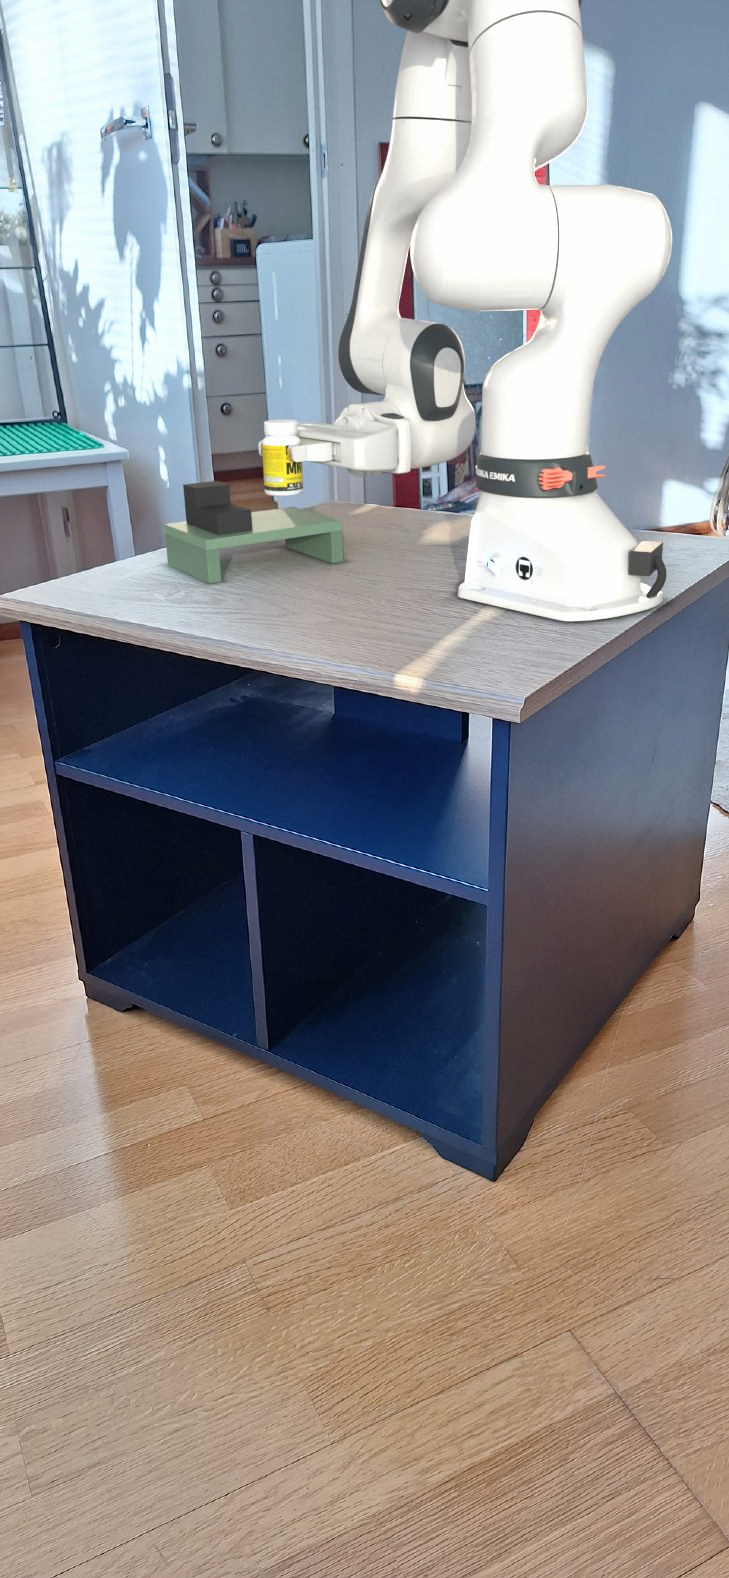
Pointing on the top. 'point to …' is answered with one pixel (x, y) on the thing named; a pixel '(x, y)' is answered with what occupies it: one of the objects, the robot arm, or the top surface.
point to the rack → (253, 540)
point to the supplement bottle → (281, 459)
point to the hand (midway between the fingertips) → (275, 451)
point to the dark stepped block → (214, 509)
